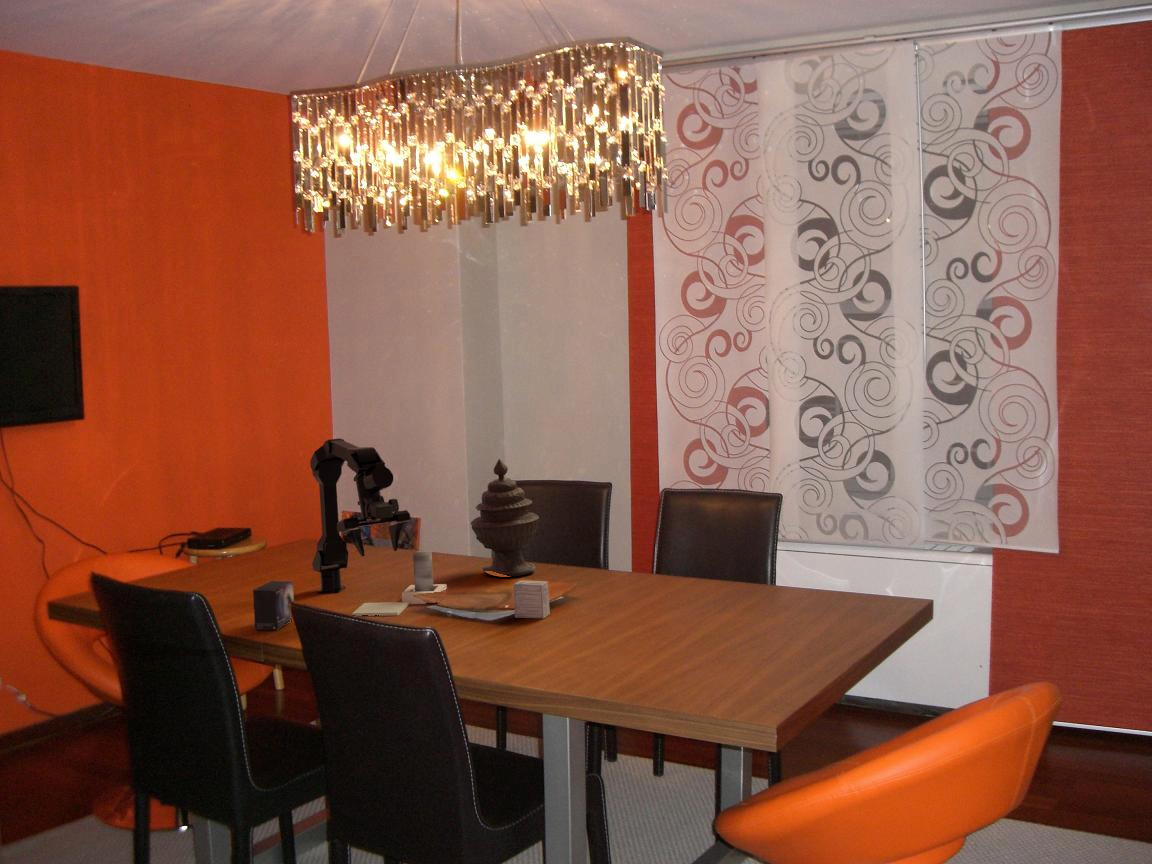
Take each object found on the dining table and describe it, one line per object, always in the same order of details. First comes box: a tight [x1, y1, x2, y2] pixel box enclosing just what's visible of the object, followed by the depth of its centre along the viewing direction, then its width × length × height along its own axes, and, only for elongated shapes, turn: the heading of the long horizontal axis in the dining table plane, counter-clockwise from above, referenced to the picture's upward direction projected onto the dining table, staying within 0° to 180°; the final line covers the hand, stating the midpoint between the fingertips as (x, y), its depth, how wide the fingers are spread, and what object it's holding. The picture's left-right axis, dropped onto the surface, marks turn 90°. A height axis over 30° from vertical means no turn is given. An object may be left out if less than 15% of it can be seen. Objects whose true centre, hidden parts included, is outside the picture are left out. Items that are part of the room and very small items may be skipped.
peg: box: [412, 550, 434, 592], centre depth 308 cm, size 5×5×13 cm
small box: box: [252, 580, 295, 631], centre depth 287 cm, size 11×6×10 cm, turn 168°
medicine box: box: [512, 580, 551, 619], centre depth 284 cm, size 8×4×9 cm, turn 71°
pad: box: [351, 601, 410, 617], centre depth 298 cm, size 11×12×1 cm
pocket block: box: [401, 583, 448, 605], centre depth 308 cm, size 10×10×3 cm
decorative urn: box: [470, 458, 540, 578], centre depth 335 cm, size 20×20×35 cm
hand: (379, 553), depth 295 cm, fingers open, 9 cm apart
